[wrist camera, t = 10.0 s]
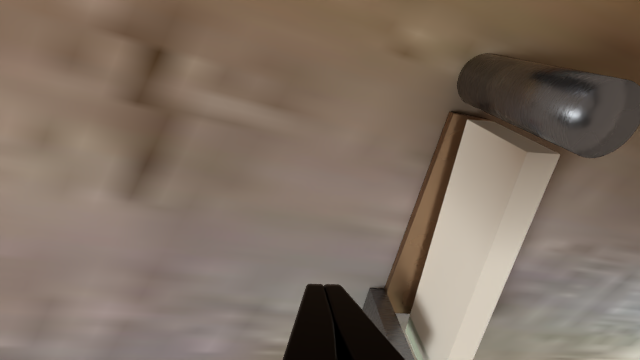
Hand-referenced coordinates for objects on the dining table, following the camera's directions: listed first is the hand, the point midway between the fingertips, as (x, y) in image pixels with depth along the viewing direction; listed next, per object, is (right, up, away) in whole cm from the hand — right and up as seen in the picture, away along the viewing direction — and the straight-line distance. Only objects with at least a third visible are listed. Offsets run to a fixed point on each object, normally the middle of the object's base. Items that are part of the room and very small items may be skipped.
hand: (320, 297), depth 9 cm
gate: (+8, -1, +14) cm, 16 cm away
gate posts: (+7, +1, +14) cm, 15 cm away
